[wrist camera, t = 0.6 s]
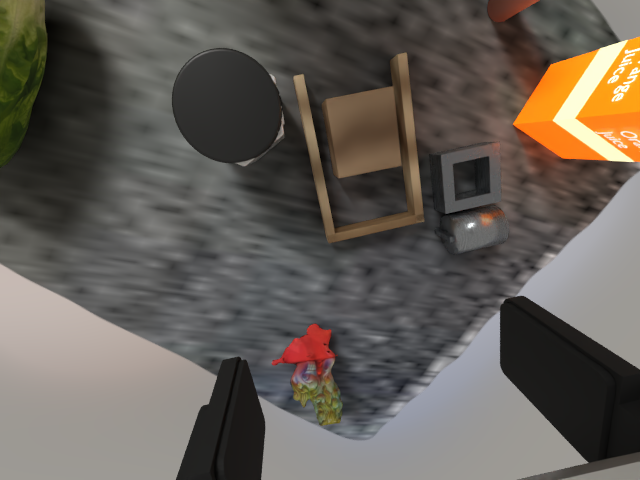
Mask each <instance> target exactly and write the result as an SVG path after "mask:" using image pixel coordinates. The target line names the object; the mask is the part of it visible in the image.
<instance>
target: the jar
mask: <svg viewBox="0 0 640 480" xmlns="http://www.w3.org/2000/svg"><path fill="white" fill-rule="evenodd" d="M172 107H173V113H174V117H175V121H176V123H177V126H178V128H179V130H180V132H181V133H182V135H183V136H184V138H185V139H186V140H187V142H188V143H189V144H190V145H191V146H192V147H193V148H194V149H196V150H197V151H198V152H199V153H201V154H203V155H204V156H206V157H208V158H210V159H213V160H215V161H219V162H224V163H236V164H239V165H241V166H247V165H249V164H251V163H254V162H256V161H257V160H258V159H260V158H261V157H262V156H263V155H264V154H266V153H267V152H268V151H269V150H270V149H272V148H273V147H274V146H275V145H276V144H278V143H279V142H280V141H281V140H283V139H284V138H285V132H284V124H285V123H284V117H283V111H282V102H281V97H280V96H279V91H278V89H277V85H276V80H275V77H274V76H273V75H271V74H269V73H268V72H267V71H266V70H265V69H264V67H263V66H262V65H261V64H259V63H258V62H257V61H256V60H255V59H253V58H252V57H250V56H248V55H246V54H244V53H242V52H239V51H236V50H233V49H227V48H216V49H210V50H206V51H203V52H201V53H199V54H197V55H195V56H194V57H193V58H191V59H190V60H189V61H188V62H187V63H186V64H185V65H184V66H183V67H182V69H181V70H180V72H179V74H178V76H177V78H176V80H175V83H174V87H173V92H172Z"/></svg>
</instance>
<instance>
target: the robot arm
mask: <svg viewBox="0 0 640 480" xmlns="http://www.w3.org/2000/svg"><path fill="white" fill-rule="evenodd" d="M500 366H501V369H502V371H503V373H504V374H505V375H506V376H507V377H508V379H510V381H511V382H512V383H513V384H514V385H515V386H516V387H517V388H518V389H519V390H520V391H521V392H522V393H523V394H524V395H525V396H526V397H527V399H529V401H530V402H531V403H532V404H533V405H534V406H535V407H536V408H537V409H538V410H539V411H540V412H541V413H542V414H543V415H544V416H545V418H546V419H547V420H548V421H549V422H550V423H551V424H552V425H553V426H554V427H555V428H556V429H557V430H558V431H559V432H560V433H561V434H562V436H563V437H564V438H565V439H566V440H567V441H568V442H569V443H570V444H571V445H572V446H573V447H574V448H575V449H576V450H577V451H578V452H579V453H580V454H581V456H582V457H583V458H584V459H585V460H586V461H588V462H589V463H587V464H583V465H578V466H574V467H570V468H565V469H561V470H557V471H553V472H548V473H544V474H540V475H535V476H531V477H527V478H523V479H519V480H640V370H639V369H638V368H636V367H635V366H633V365H632V364H630V363H629V362H627V361H625V360H624V359H622V358H621V357H619V356H618V355H616V354H614V353H613V352H611V351H610V350H608V349H607V348H605V347H603V346H602V345H600V344H599V343H597V342H595V341H594V340H592V339H591V338H589V337H587V336H586V335H585V334H583V333H581V332H580V331H578V330H577V329H575V328H573V327H572V326H570V325H569V324H567V323H566V322H564V321H562V320H561V319H559V318H558V317H556V316H555V315H553V314H551V313H550V312H548V311H547V310H545V309H543V308H542V307H540V306H539V305H537V304H536V303H534V302H533V301H531V300H529V299H528V298H526V297H524V296H517V297H513V298H508V299H505V301H504V304H502V305H501V307H500ZM264 438H265V419H264V415H263V412H262V409H261V405H260V402H259V399H258V396H257V392H256V389H255V386H254V382H253V379H252V376H251V373H250V369H249V366H248V363H247V361H246V360H241V358H240V357H235V358H230V359H225V360H223V361H222V364H221V367H220V370H219V373H218V376H217V380H216V383H215V386H214V389H213V393H212V396H211V399H210V402H209V404H208V405H204V406H202V407H201V409H200V411H199V413H198V416H197V419H196V422H195V425H194V428H193V431H192V434H191V437H190V440H189V443H188V446H187V449H186V451H185V455H184V458H183V460H182V463H181V466H180V470H179V472H178V475H177V478H176V480H261V473H262V461H263V450H264Z"/></svg>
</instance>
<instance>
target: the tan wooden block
mask: <svg viewBox="0 0 640 480" xmlns="http://www.w3.org/2000/svg"><path fill="white" fill-rule="evenodd" d="M322 111H323V117H324V123H325V128H326V134H327V140H328V146H329V152H330V157H331V163H332V169H333V175H334V176H336V177H338V178H344V177H348V176H353V175H358V174H363V173H368V172H373V171H378V170H383V169H388V168H392V167H397V166H402V165H401V155H400V146H399V136H398V126H397V117H396V107H395V98H394V88H393V86H391V87H385V88H380V89H375V90H370V91H365V92H360V93H355V94H349V95H344V96H339V97H334V98H329V99H325V101H324V102H323V103H322Z"/></svg>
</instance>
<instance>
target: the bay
mask: <svg viewBox="0 0 640 480" xmlns="http://www.w3.org/2000/svg"><path fill="white" fill-rule="evenodd" d="M390 67H391V75H392V83H393V88H394V98H395V107H396V117H397V125H398V133H399V142H400V150H401V158H402V167H403V175H404V183H405V191H406V200H407V208H408V211H407V212H403V213H398V214H394V215H390V216H385V217H381V218H376V219H372V220H368V221H363V222H359V223H354V224H350V225H346V226H341V227H337V228H334V225H333V220H332V215H331V210H330V205H329V200H328V195H327V190H326V185H325V180H324V175H323V170H322V165H321V160H320V155H319V150H318V145H317V140H316V135H315V130H314V125H313V120H312V115H311V110H310V105H309V100H308V95H307V90H306V85H305V80H304V75H303V74H302V75H297V76H294V80H293V82H294V86H295V91H296V96H297V101H298V105H299V110H300V115H301V120H302V124H303V129H304V134H305V139H306V143H307V148H308V153H309V158H310V162H311V167H312V172H313V177H314V181H315V186H316V191H317V196H318V200H319V205H320V210H321V215H322V219H323V224H324V229H325V234H326V238H327V240H328V243H333V242H337V241H341V240H346V239H350V238H354V237H359V236H363V235H367V234H372V233H376V232H381V231H385V230H389V229H394V228H398V227H402V226H407V225H411V224H416V223H420V222H424V214H423V204H422V195H421V185H420V175H419V166H418V156H417V147H416V137H415V127H414V118H413V108H412V99H411V89H410V80H409V70H408V60H407V52H406V53H402V54H397V55H396V56H395V57H394V58H393V59H391V60H390Z"/></svg>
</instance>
